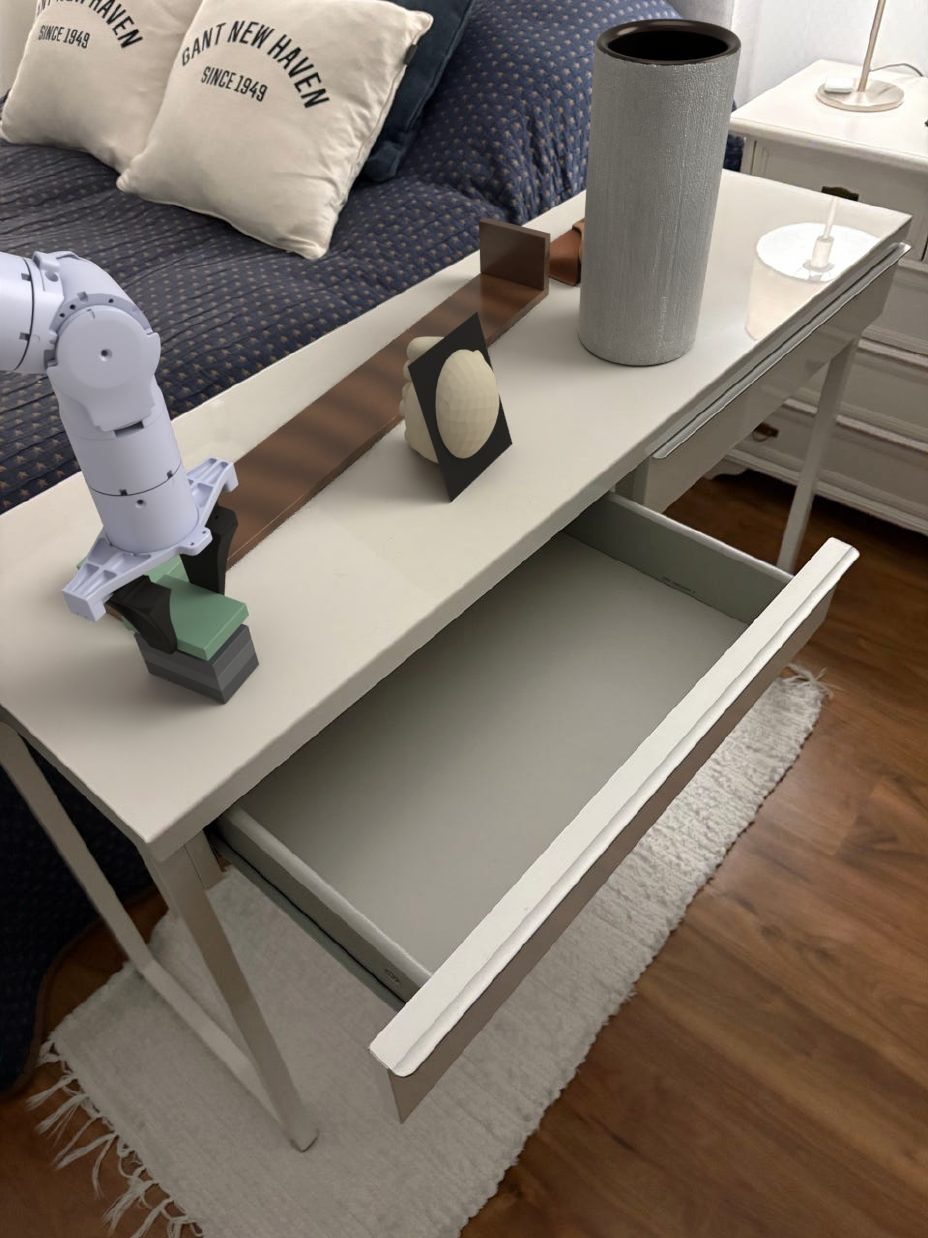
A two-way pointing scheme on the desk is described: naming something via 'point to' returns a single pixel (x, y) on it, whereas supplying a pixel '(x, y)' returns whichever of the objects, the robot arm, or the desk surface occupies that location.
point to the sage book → (200, 617)
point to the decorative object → (454, 404)
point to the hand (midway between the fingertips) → (187, 622)
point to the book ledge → (377, 390)
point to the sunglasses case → (567, 255)
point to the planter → (653, 184)
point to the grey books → (206, 666)
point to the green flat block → (164, 570)
